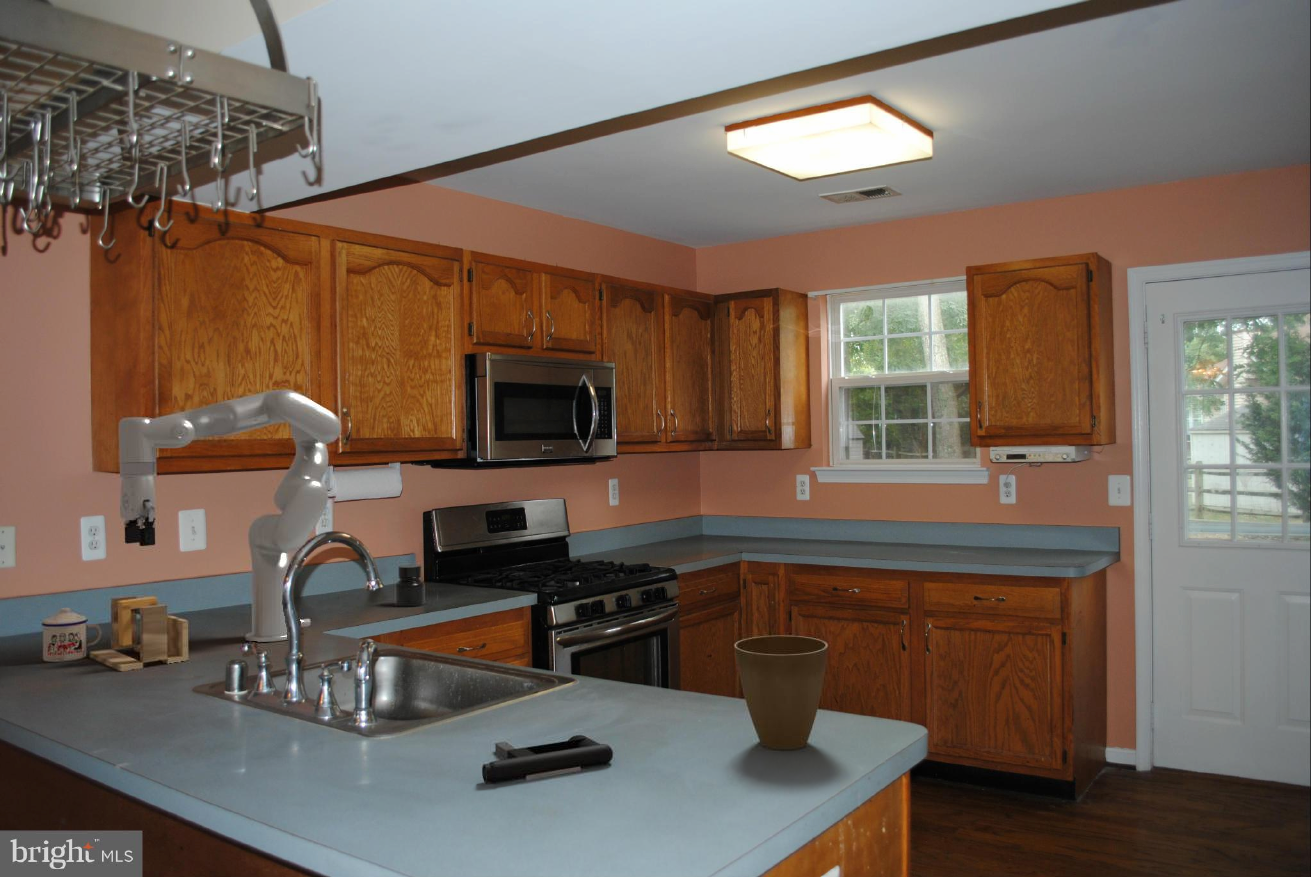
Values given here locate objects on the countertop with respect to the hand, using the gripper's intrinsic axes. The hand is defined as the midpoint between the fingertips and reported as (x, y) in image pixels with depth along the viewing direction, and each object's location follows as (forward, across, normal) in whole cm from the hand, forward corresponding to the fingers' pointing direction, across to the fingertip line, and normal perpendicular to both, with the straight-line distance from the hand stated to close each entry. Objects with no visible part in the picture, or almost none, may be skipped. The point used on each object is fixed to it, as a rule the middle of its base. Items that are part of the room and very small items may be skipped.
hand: (139, 544), depth 222 cm
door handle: (+27, +126, +15) cm, 130 cm away
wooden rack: (+26, 0, -1) cm, 27 cm away
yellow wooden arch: (+23, 0, -1) cm, 23 cm away
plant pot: (+28, +148, +47) cm, 158 cm away
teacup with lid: (+26, -14, -11) cm, 32 cm away
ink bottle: (+28, -20, +83) cm, 90 cm away
